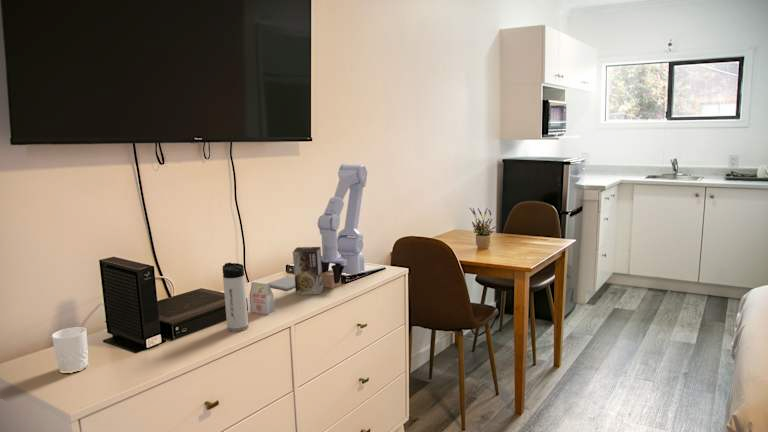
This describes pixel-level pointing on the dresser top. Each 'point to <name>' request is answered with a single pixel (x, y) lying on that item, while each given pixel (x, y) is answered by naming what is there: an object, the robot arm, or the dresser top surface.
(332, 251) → the robot arm
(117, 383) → the dresser top surface
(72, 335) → the white cup
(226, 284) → the travel mug
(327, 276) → the cube
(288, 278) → the coaster
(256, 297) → the white printed carton
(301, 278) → the coffee box
